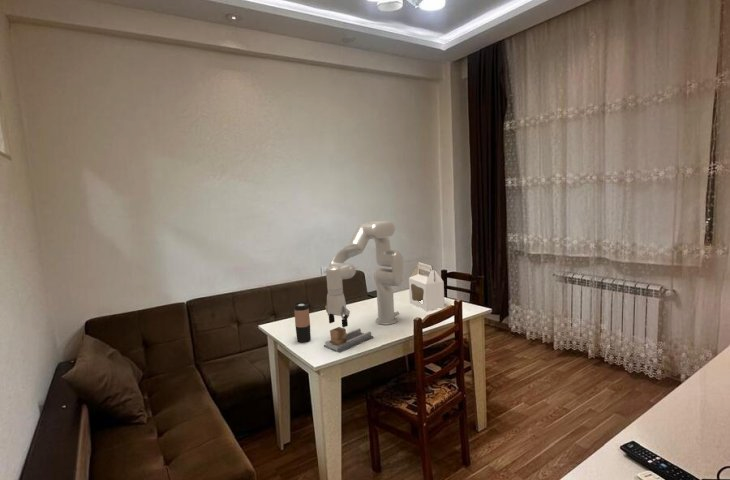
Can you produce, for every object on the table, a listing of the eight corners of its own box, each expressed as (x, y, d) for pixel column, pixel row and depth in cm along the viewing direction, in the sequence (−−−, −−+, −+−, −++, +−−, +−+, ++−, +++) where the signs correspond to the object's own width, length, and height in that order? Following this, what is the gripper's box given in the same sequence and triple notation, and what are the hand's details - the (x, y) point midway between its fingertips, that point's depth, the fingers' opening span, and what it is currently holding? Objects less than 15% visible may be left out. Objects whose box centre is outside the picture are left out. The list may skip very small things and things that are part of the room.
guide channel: (357, 332, 213) (357, 327, 212) (373, 337, 204) (373, 332, 204) (323, 346, 196) (323, 341, 195) (339, 352, 187) (339, 347, 187)
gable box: (409, 302, 263) (407, 262, 259) (426, 299, 268) (424, 259, 264) (426, 311, 242) (425, 267, 239) (444, 308, 247) (443, 264, 244)
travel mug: (297, 338, 209) (294, 302, 206) (311, 337, 209) (308, 301, 207) (296, 344, 201) (293, 306, 199) (310, 342, 202) (308, 305, 199)
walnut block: (340, 341, 199) (339, 326, 198) (346, 344, 195) (345, 328, 194) (331, 345, 195) (330, 330, 194) (337, 348, 191) (336, 332, 190)
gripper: (318, 290, 195) (321, 323, 197) (341, 296, 183) (344, 330, 185) (329, 287, 200) (332, 318, 203) (353, 292, 188) (355, 325, 191)
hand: (338, 324), depth 194 cm, fingers open, 9 cm apart
